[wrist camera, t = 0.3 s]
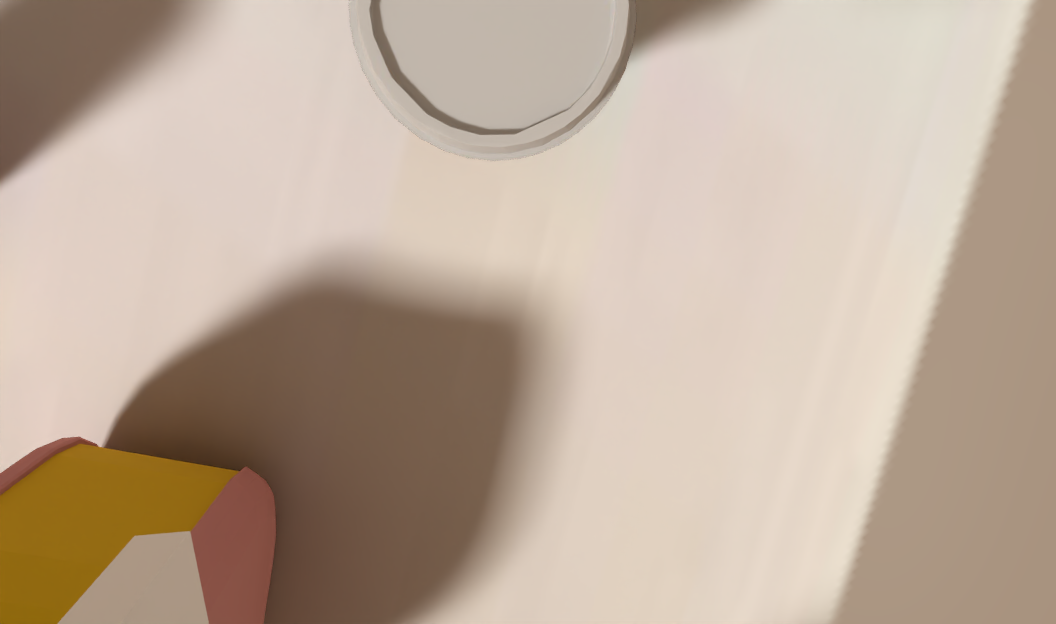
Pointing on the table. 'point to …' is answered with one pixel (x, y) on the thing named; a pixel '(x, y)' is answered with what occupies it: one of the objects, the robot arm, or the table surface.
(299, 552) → the table surface
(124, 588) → the robot arm
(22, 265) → the table surface
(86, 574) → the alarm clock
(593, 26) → the disposable coffee cup
